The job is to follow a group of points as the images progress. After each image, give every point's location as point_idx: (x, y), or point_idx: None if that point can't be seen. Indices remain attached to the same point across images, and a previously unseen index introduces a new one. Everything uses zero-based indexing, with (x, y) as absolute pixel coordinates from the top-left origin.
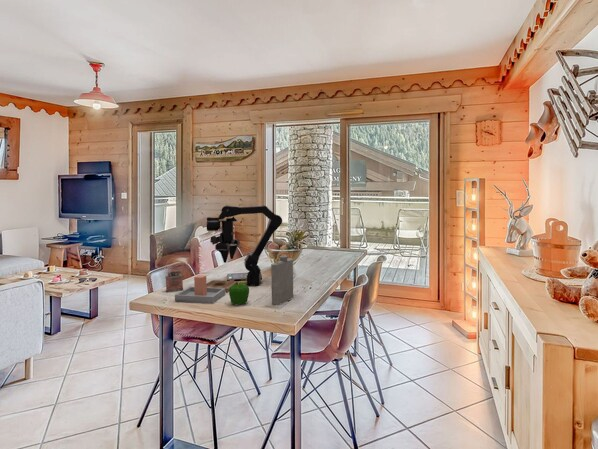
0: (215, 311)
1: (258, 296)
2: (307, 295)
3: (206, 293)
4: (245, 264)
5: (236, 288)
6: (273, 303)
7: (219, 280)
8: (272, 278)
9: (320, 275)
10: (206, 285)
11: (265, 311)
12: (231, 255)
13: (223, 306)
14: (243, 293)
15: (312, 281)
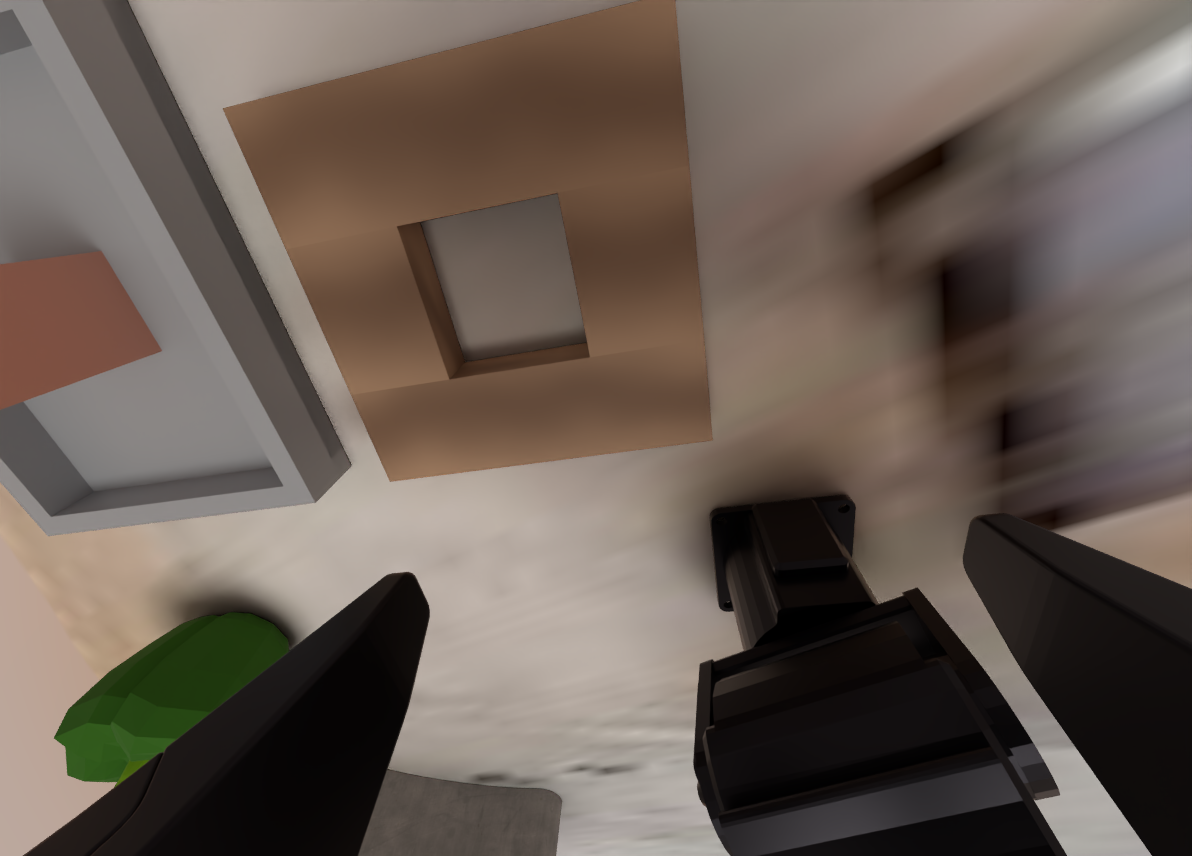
0: (33, 581)
1: (447, 681)
2: (589, 850)
3: (137, 358)
4: (710, 764)
5: (79, 778)
6: None
7: (687, 159)
8: None
9: (1126, 853)
10: (44, 393)
11: None
12: (1069, 647)
13: (133, 582)
14: None
15: None
